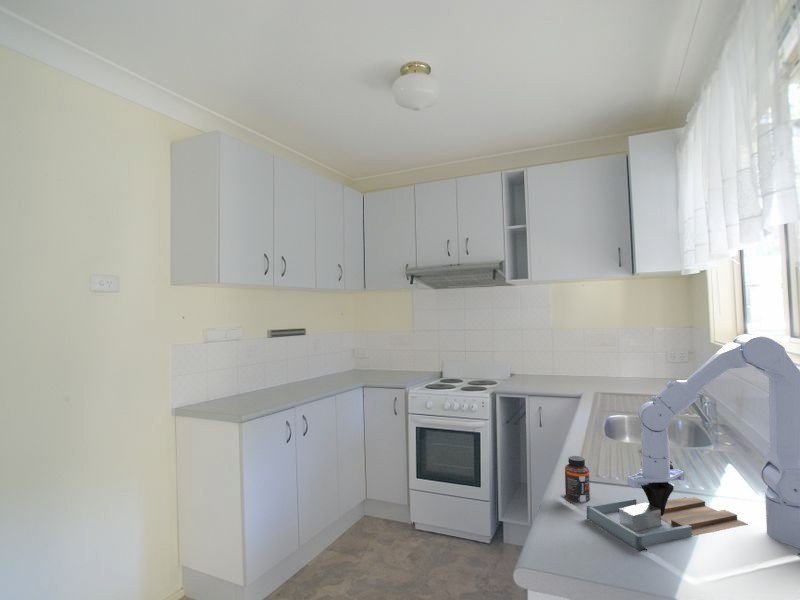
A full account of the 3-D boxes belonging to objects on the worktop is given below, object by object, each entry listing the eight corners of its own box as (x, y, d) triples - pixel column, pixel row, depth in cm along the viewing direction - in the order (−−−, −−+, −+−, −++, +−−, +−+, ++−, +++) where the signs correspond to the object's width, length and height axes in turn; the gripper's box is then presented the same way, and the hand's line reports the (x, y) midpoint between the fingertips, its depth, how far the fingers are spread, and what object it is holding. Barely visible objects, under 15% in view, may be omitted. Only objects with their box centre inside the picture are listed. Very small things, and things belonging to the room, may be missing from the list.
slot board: (748, 528, 104) (747, 519, 104) (693, 540, 99) (692, 530, 99) (685, 501, 119) (685, 493, 119) (635, 509, 114) (635, 501, 114)
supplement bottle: (590, 507, 116) (589, 462, 117) (565, 504, 118) (564, 460, 119) (589, 498, 122) (588, 455, 122) (565, 495, 124) (564, 453, 124)
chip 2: (661, 527, 104) (660, 509, 104) (647, 530, 103) (646, 512, 103) (647, 519, 108) (646, 502, 108) (633, 522, 107) (632, 505, 107)
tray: (691, 540, 99) (691, 526, 99) (639, 551, 95) (638, 536, 95) (634, 510, 114) (633, 498, 114) (586, 518, 110) (586, 506, 110)
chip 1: (648, 530, 103) (647, 512, 103) (633, 533, 102) (632, 515, 102) (634, 522, 107) (633, 505, 107) (620, 525, 105) (619, 508, 105)
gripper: (665, 447, 113) (667, 503, 112) (616, 453, 108) (618, 511, 108) (691, 455, 106) (693, 515, 106) (640, 462, 102) (642, 524, 101)
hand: (657, 514), depth 106 cm, fingers closed
